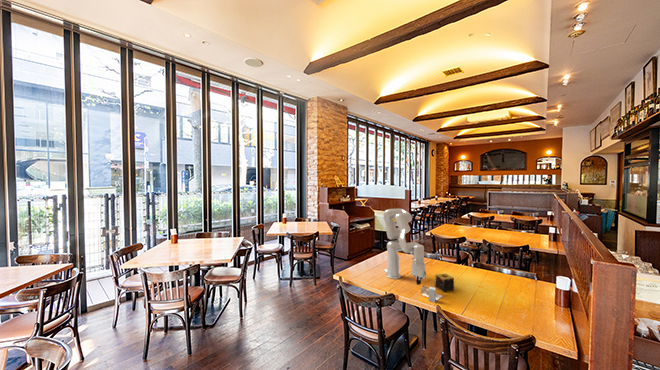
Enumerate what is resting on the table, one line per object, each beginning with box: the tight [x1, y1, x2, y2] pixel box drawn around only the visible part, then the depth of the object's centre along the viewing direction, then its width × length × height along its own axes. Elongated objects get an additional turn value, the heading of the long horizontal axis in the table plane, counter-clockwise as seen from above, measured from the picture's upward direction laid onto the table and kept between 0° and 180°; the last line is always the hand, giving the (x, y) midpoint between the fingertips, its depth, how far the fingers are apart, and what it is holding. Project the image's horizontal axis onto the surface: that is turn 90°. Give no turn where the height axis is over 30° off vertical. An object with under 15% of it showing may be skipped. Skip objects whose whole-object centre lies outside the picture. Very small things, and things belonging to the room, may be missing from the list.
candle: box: [434, 273, 455, 293], centre depth 204 cm, size 10×10×10 cm
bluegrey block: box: [428, 286, 437, 303], centre depth 185 cm, size 4×4×9 cm
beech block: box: [420, 285, 429, 295], centre depth 194 cm, size 4×4×9 cm
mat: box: [421, 293, 443, 301], centre depth 192 cm, size 12×9×1 cm
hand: (418, 284), depth 200 cm, fingers closed
